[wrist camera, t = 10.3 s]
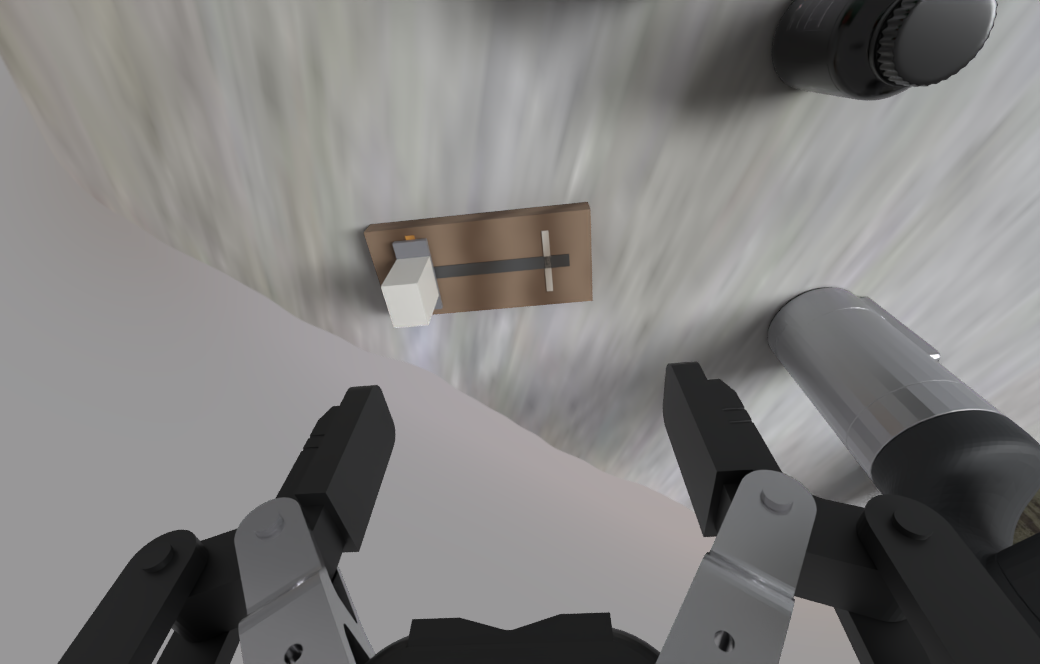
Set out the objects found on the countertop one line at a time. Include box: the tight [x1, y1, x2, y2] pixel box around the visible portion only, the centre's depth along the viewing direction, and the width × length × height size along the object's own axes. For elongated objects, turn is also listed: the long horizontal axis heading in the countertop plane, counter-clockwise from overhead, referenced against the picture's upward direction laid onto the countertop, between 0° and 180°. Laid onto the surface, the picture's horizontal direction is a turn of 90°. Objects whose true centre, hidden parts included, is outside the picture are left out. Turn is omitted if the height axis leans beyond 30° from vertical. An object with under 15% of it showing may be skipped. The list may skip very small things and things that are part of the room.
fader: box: [381, 238, 443, 328], centre depth 39 cm, size 3×7×6 cm, turn 6°
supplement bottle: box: [772, 0, 998, 100], centre depth 28 cm, size 7×7×12 cm
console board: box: [364, 202, 593, 315], centre depth 42 cm, size 20×9×2 cm, turn 96°
